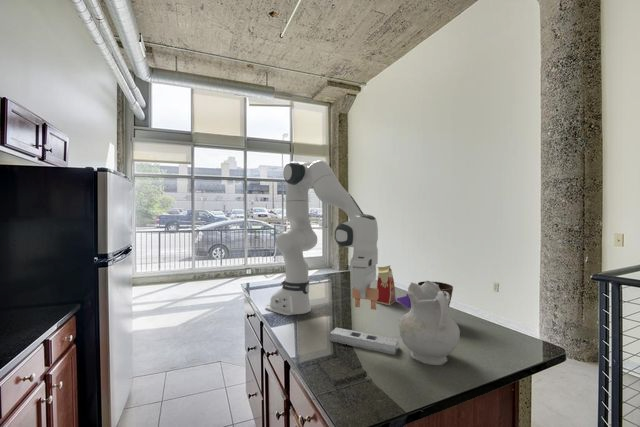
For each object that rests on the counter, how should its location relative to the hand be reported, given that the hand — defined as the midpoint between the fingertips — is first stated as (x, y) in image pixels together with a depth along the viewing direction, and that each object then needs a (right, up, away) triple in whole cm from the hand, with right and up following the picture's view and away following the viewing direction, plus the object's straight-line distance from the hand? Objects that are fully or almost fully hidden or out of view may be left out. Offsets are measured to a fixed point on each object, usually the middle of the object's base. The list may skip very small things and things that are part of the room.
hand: (365, 296), depth 110 cm
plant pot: (+35, -18, +25) cm, 47 cm away
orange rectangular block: (0, -4, 0) cm, 4 cm away
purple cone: (+30, -18, +50) cm, 61 cm away
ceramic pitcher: (+20, -18, -10) cm, 29 cm away
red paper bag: (+18, -18, +52) cm, 58 cm away
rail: (-1, -18, 0) cm, 18 cm away
